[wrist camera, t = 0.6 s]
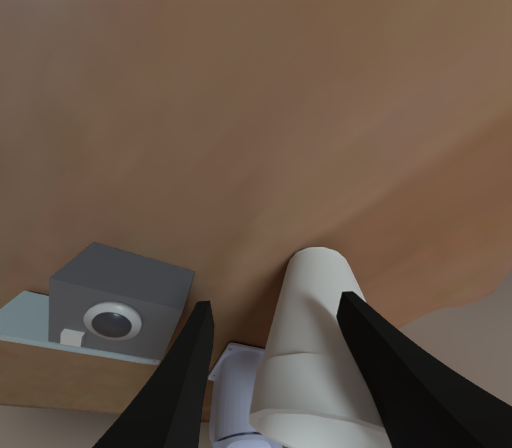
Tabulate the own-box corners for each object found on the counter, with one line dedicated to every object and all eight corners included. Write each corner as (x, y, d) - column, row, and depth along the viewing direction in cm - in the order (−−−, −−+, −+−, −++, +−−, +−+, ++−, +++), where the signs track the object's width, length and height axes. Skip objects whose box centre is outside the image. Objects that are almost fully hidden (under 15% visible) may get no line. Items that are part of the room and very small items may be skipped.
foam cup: (300, 304, 25) (298, 457, 15) (257, 255, 22) (216, 407, 12) (380, 283, 21) (459, 481, 10) (340, 219, 18) (397, 411, 7)
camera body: (175, 318, 25) (158, 368, 20) (86, 298, 22) (41, 350, 17) (194, 271, 22) (180, 317, 17) (93, 242, 19) (40, 285, 14)
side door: (171, 327, 25) (158, 365, 21) (24, 295, 21) (-26, 335, 17) (172, 323, 24) (160, 361, 21) (23, 290, 21) (-27, 330, 17)
